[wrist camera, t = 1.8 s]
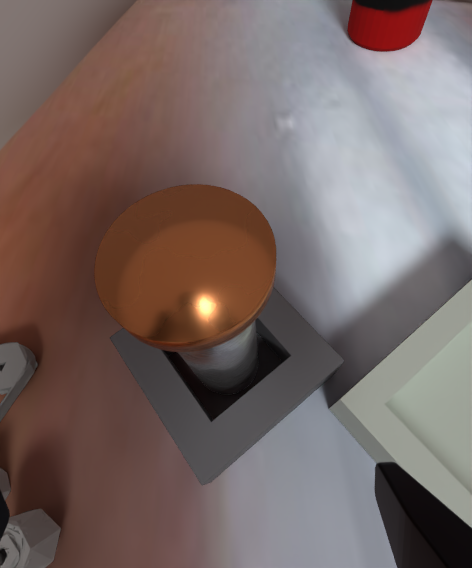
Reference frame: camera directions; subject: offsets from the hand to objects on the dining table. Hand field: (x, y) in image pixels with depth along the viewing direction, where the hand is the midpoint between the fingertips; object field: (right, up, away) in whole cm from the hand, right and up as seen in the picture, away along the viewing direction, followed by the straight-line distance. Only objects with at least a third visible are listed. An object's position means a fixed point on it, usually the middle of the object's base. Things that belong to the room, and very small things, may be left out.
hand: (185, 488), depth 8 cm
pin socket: (+1, 0, +14) cm, 14 cm away
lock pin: (+1, 0, +14) cm, 14 cm away
